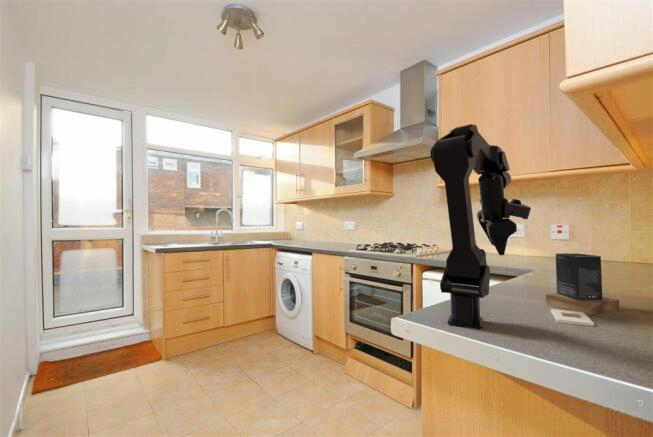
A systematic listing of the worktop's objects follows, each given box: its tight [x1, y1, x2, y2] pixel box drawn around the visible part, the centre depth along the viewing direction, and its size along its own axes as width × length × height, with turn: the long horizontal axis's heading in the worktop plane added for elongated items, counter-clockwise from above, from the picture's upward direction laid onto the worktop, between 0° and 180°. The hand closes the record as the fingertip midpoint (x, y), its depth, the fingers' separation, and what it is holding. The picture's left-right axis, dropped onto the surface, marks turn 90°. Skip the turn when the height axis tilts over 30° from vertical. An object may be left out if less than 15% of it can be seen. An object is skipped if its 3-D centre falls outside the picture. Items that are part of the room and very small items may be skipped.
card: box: [550, 308, 595, 327], centre depth 67 cm, size 9×6×1 cm, turn 150°
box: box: [555, 252, 603, 301], centre depth 75 cm, size 8×6×11 cm
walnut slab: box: [545, 292, 620, 316], centre depth 75 cm, size 10×10×2 cm
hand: (497, 249), depth 85 cm, fingers open, 9 cm apart
